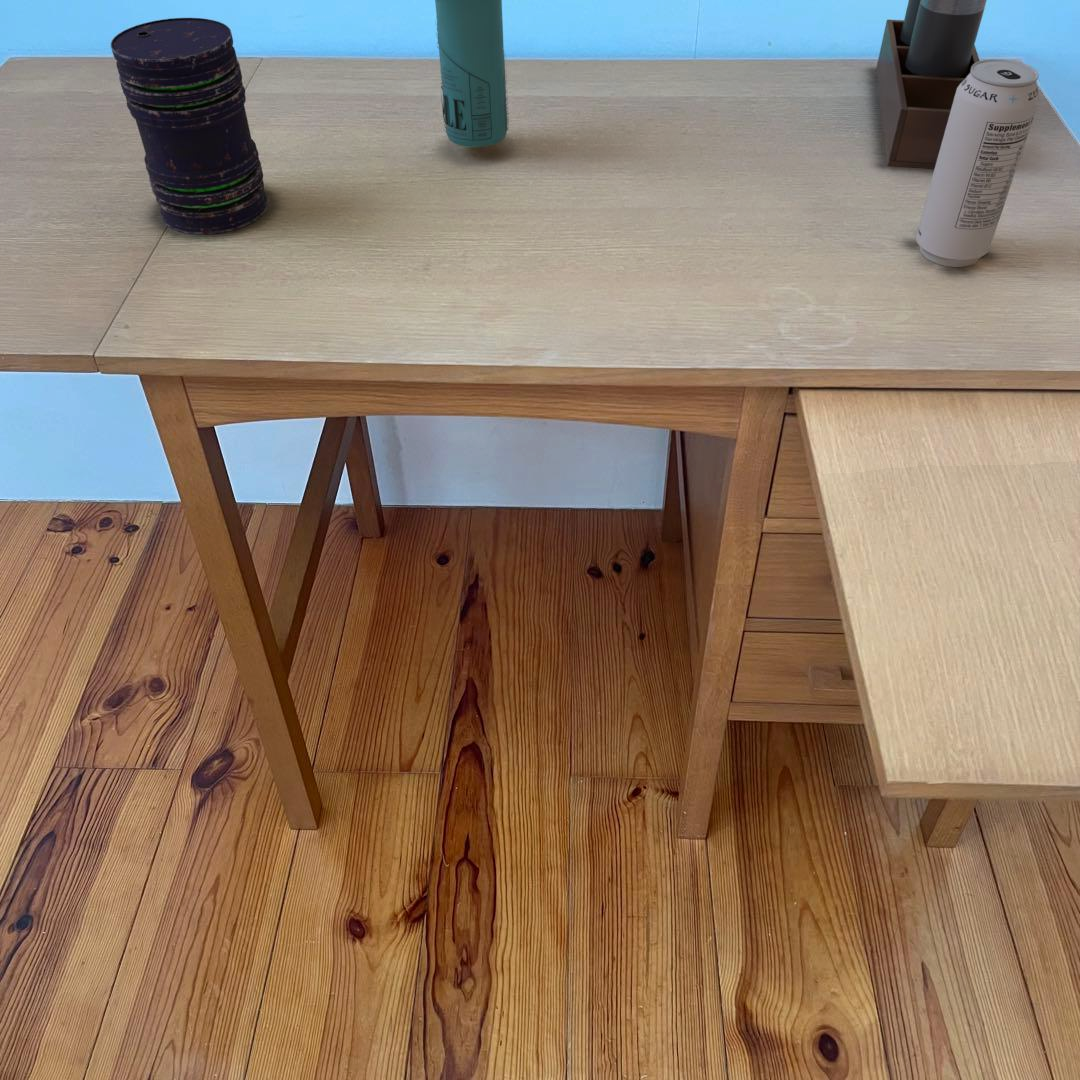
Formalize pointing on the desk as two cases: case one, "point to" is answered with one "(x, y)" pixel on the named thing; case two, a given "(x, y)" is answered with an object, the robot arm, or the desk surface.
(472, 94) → the beverage bottle
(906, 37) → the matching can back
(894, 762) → the desk surface
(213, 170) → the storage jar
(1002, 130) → the energy drink can
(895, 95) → the can rack
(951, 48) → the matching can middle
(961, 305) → the desk surface
